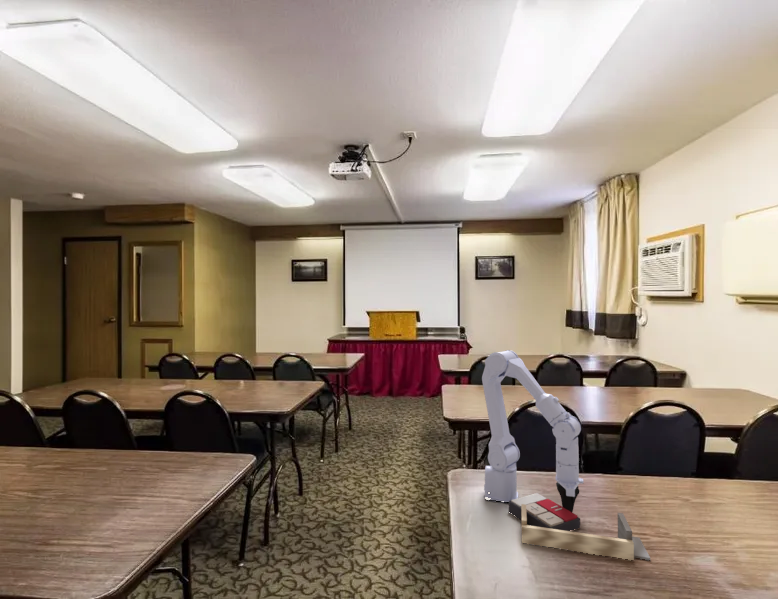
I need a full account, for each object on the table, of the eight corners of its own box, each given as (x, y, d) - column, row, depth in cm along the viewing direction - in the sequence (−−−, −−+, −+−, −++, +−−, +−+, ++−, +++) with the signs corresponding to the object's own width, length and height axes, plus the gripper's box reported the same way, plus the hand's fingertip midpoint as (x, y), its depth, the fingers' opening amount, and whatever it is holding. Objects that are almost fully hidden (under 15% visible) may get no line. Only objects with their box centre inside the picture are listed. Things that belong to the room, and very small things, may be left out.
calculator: (551, 525, 104) (508, 498, 118) (550, 542, 105) (507, 513, 118) (581, 515, 109) (536, 490, 123) (580, 531, 110) (536, 504, 123)
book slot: (521, 543, 102) (521, 518, 102) (521, 522, 112) (521, 500, 112) (652, 563, 94) (651, 536, 94) (639, 539, 104) (639, 515, 104)
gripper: (587, 473, 107) (587, 527, 107) (579, 454, 121) (579, 502, 121) (557, 470, 109) (558, 523, 109) (553, 452, 123) (553, 499, 123)
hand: (567, 512), depth 115 cm, fingers closed
